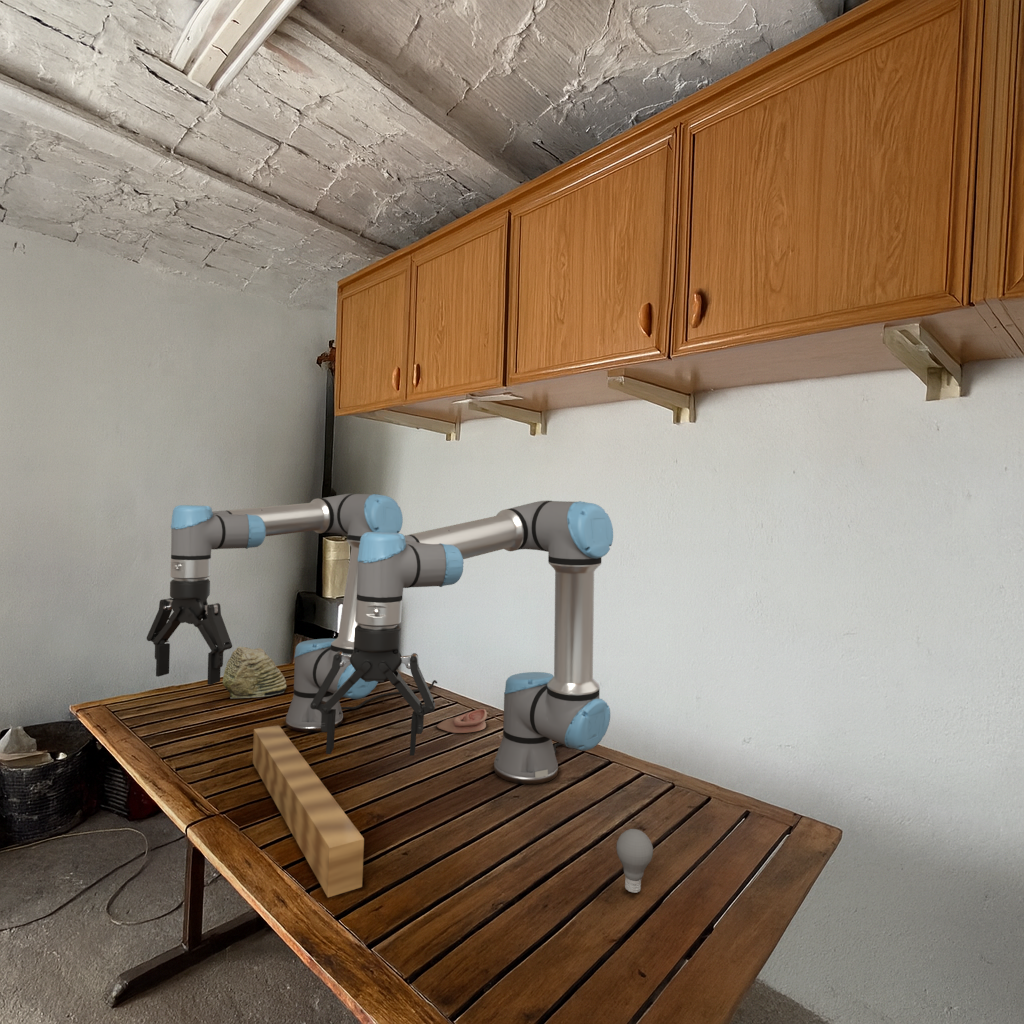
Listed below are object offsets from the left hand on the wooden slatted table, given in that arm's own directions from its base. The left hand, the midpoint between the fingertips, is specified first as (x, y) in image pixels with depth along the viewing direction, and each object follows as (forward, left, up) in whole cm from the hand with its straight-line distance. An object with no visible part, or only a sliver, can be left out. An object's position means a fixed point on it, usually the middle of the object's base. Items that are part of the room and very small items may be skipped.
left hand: (187, 679), depth 134 cm
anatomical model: (-69, +16, -24) cm, 75 cm away
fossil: (-43, -49, -24) cm, 69 cm away
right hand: (-6, +53, -2) cm, 53 cm away
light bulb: (-34, +88, -24) cm, 97 cm away
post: (-11, +26, -24) cm, 37 cm away
